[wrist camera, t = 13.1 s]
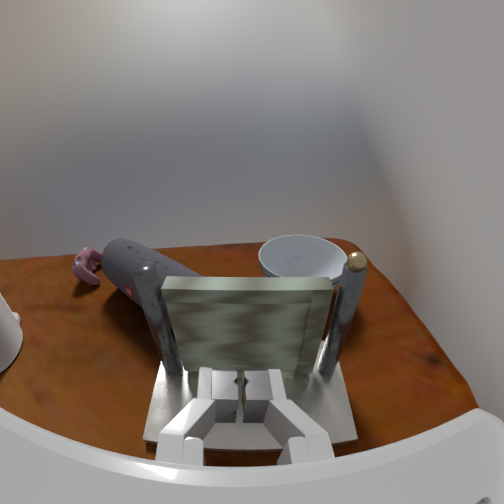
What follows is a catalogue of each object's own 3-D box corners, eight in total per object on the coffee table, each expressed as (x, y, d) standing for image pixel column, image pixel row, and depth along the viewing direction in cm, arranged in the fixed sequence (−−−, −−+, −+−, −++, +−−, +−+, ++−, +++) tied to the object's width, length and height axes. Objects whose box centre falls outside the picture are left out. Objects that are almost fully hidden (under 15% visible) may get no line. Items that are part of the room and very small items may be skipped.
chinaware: (291, 334, 40) (297, 295, 36) (242, 283, 51) (242, 247, 47) (356, 299, 47) (365, 263, 43) (304, 261, 58) (308, 228, 54)
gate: (184, 372, 31) (161, 288, 24) (186, 360, 33) (166, 276, 26) (312, 373, 31) (333, 289, 24) (309, 360, 33) (329, 276, 26)
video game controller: (98, 268, 57) (79, 246, 54) (111, 259, 57) (92, 236, 53) (87, 294, 49) (65, 270, 45) (101, 284, 49) (78, 259, 45)
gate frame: (145, 442, 24) (67, 339, 14) (168, 345, 38) (139, 229, 28) (354, 442, 24) (432, 338, 14) (331, 345, 38) (360, 229, 28)
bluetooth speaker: (106, 292, 48) (91, 247, 43) (141, 271, 54) (132, 228, 49) (183, 354, 36) (170, 301, 31) (224, 318, 43) (220, 267, 38)
